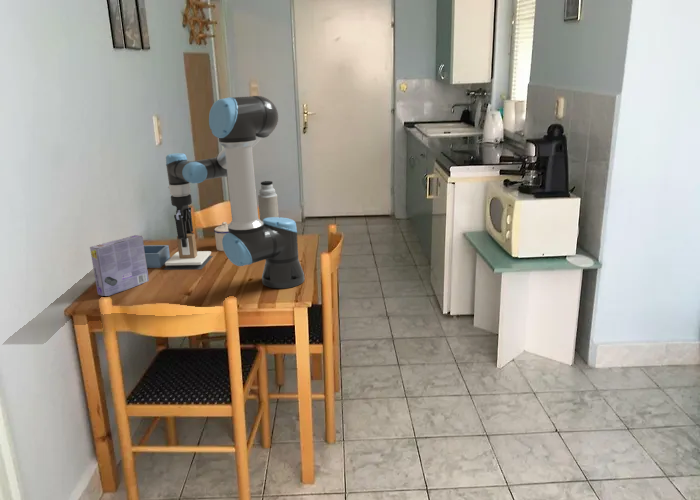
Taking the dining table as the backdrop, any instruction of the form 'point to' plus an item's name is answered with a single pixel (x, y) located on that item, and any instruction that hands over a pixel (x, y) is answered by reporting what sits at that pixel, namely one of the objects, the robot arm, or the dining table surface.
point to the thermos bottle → (267, 201)
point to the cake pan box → (119, 265)
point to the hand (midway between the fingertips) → (188, 252)
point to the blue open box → (156, 255)
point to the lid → (191, 259)
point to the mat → (187, 266)
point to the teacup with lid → (220, 235)
